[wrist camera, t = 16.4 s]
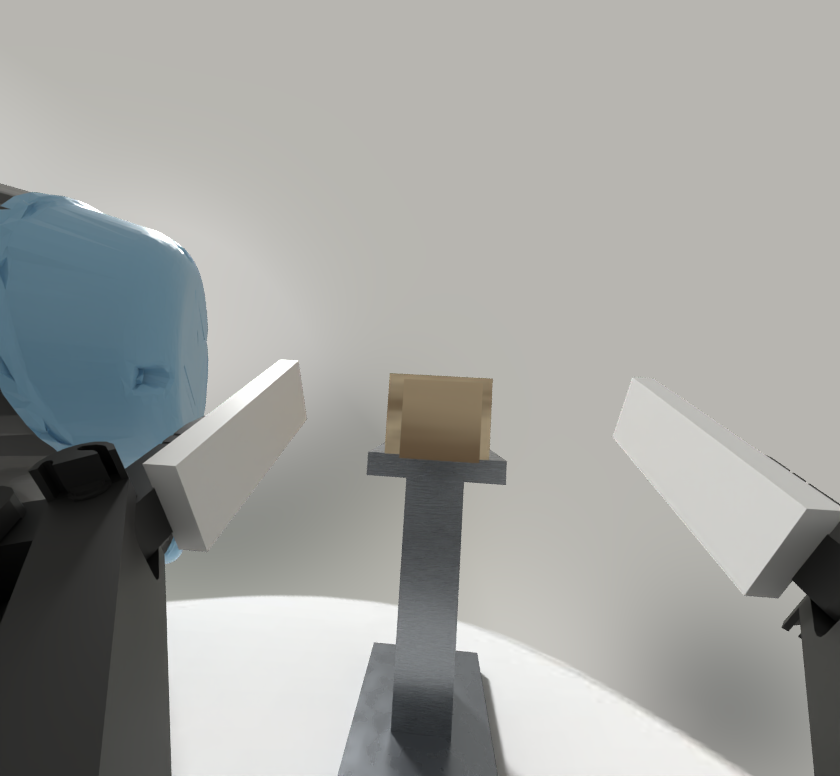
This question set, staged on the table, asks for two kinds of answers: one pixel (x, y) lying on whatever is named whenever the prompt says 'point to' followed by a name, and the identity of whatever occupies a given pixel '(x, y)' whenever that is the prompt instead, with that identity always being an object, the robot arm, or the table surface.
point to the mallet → (439, 417)
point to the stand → (425, 640)
